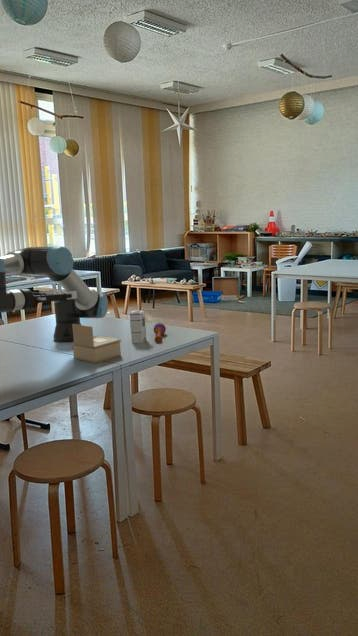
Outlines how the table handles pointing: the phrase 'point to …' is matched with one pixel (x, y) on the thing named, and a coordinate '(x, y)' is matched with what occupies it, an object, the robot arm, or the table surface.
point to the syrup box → (137, 326)
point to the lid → (89, 337)
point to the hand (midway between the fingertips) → (64, 294)
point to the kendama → (159, 331)
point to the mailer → (97, 353)
